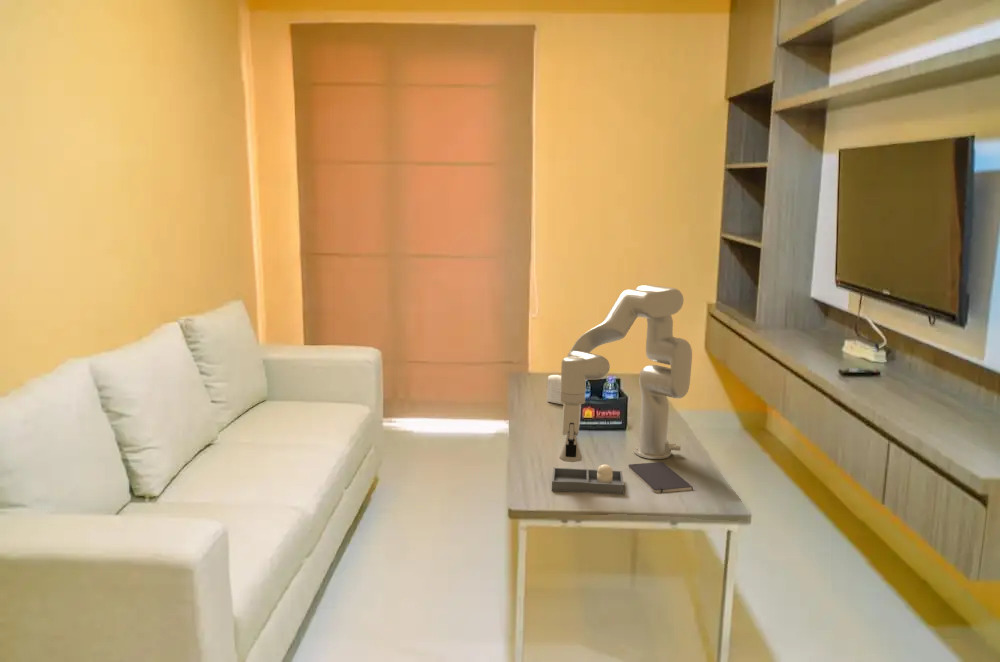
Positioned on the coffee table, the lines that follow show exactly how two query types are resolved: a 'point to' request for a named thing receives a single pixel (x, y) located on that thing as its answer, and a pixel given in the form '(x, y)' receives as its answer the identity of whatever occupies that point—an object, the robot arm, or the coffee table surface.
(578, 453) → the flask
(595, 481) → the tray
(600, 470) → the cream egg
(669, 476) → the notebook
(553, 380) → the photo printer
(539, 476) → the coffee table surface
